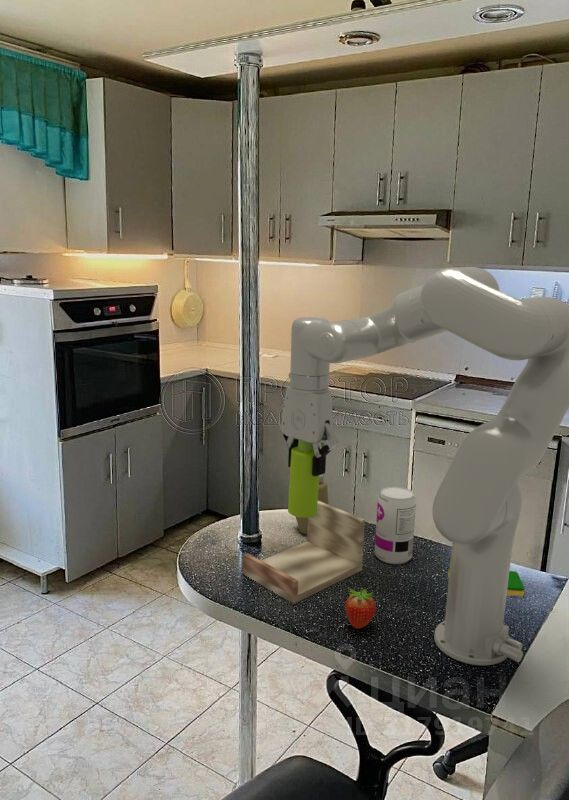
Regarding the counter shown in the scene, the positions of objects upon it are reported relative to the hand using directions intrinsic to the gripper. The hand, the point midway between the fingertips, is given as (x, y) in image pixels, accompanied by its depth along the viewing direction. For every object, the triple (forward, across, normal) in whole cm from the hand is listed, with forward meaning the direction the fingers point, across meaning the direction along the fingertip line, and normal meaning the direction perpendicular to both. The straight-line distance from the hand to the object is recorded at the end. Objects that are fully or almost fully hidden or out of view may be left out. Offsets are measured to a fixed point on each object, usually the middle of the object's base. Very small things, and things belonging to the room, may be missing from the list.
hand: (306, 469), depth 132 cm
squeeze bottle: (+23, -13, +16) cm, 31 cm away
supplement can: (+23, +8, +20) cm, 31 cm away
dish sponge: (+23, +28, +24) cm, 44 cm away
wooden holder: (+23, 0, 0) cm, 23 cm away
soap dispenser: (+9, 0, 0) cm, 9 cm away
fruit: (+23, +21, -7) cm, 32 cm away
